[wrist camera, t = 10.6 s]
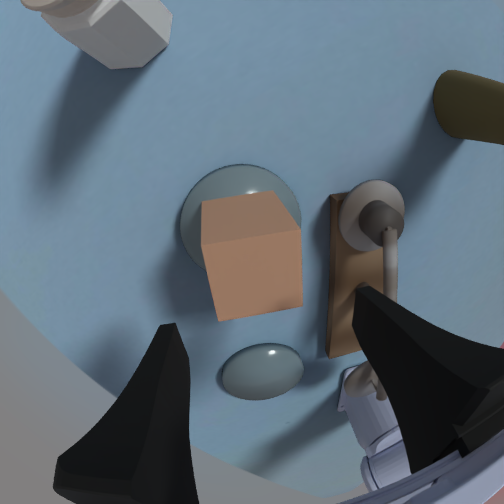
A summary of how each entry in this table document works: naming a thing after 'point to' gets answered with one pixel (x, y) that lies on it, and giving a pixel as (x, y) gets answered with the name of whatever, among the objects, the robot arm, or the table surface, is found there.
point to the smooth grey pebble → (262, 371)
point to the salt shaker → (110, 28)
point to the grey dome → (227, 185)
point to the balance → (361, 268)
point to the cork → (470, 106)
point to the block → (251, 255)
